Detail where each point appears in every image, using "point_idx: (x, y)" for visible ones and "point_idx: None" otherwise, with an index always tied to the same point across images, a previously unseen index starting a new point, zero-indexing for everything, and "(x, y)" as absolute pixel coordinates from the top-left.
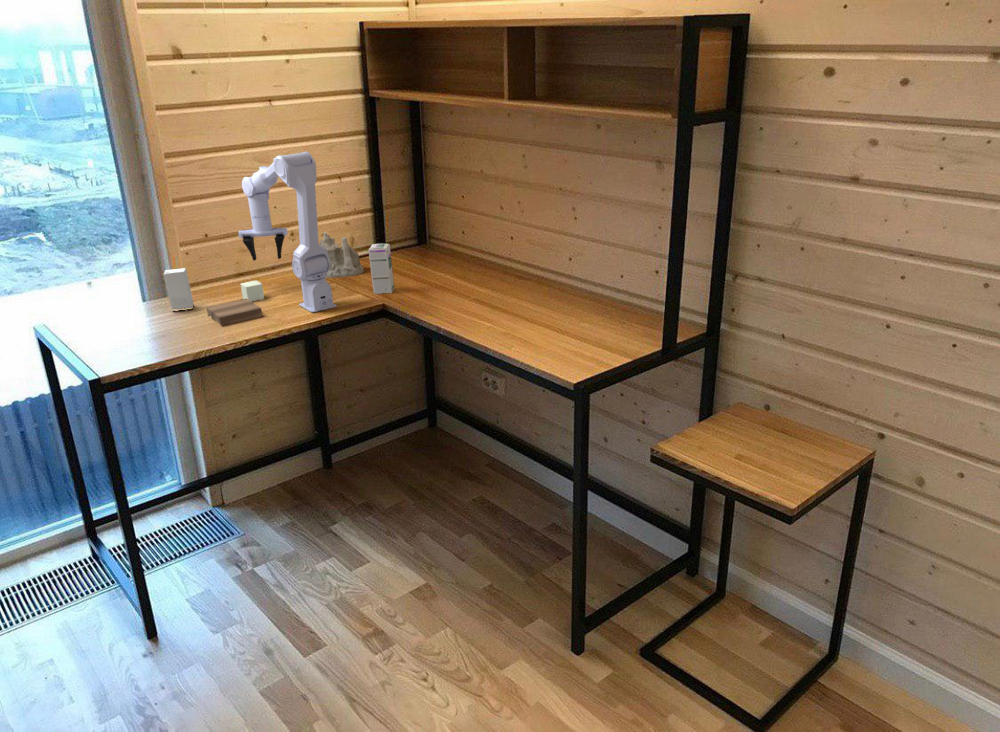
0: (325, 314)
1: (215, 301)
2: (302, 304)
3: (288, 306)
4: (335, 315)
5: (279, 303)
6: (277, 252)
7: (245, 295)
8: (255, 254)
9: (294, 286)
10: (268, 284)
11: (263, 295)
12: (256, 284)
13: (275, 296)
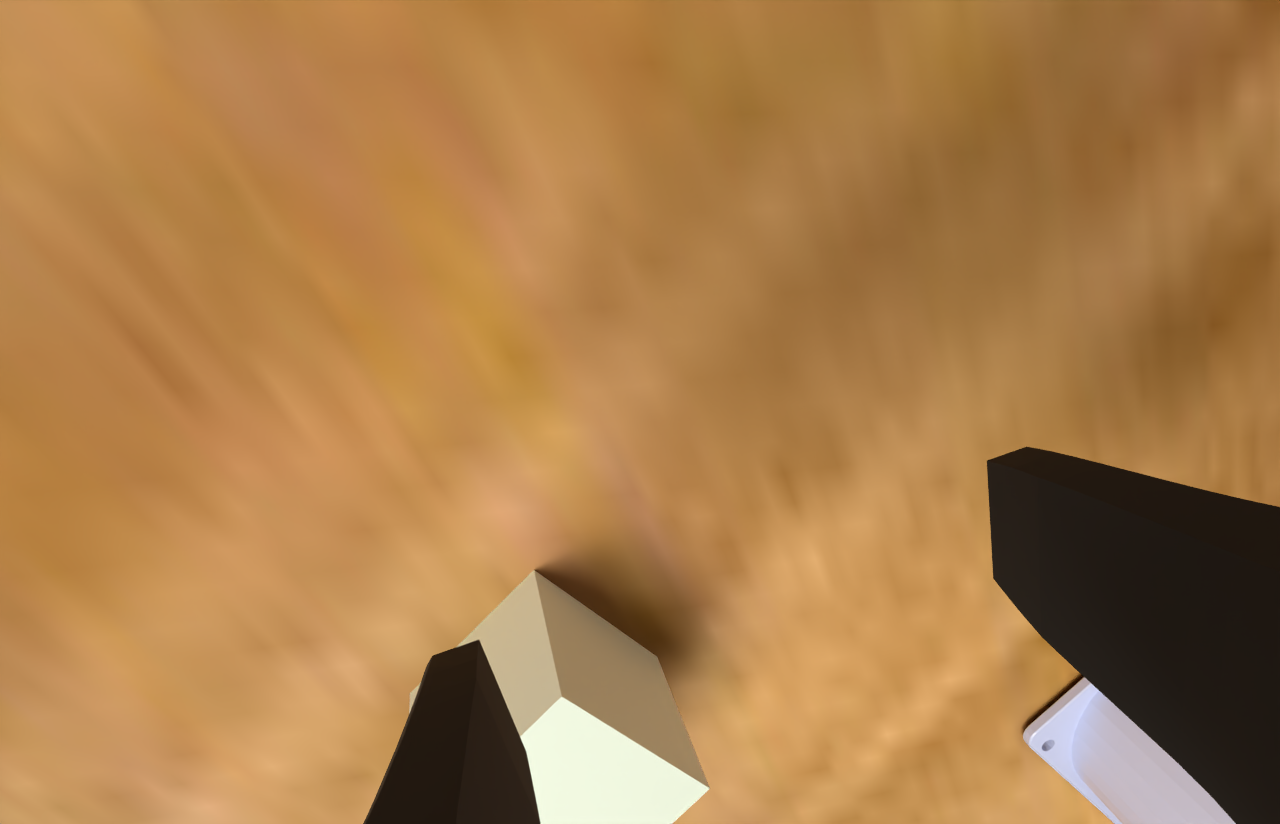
0: None
1: (124, 821)
2: (1057, 751)
3: (937, 760)
4: None
5: (843, 721)
6: (1119, 702)
7: None
8: (491, 744)
9: (842, 199)
10: (430, 117)
11: (665, 688)
12: (648, 819)
13: (739, 568)
